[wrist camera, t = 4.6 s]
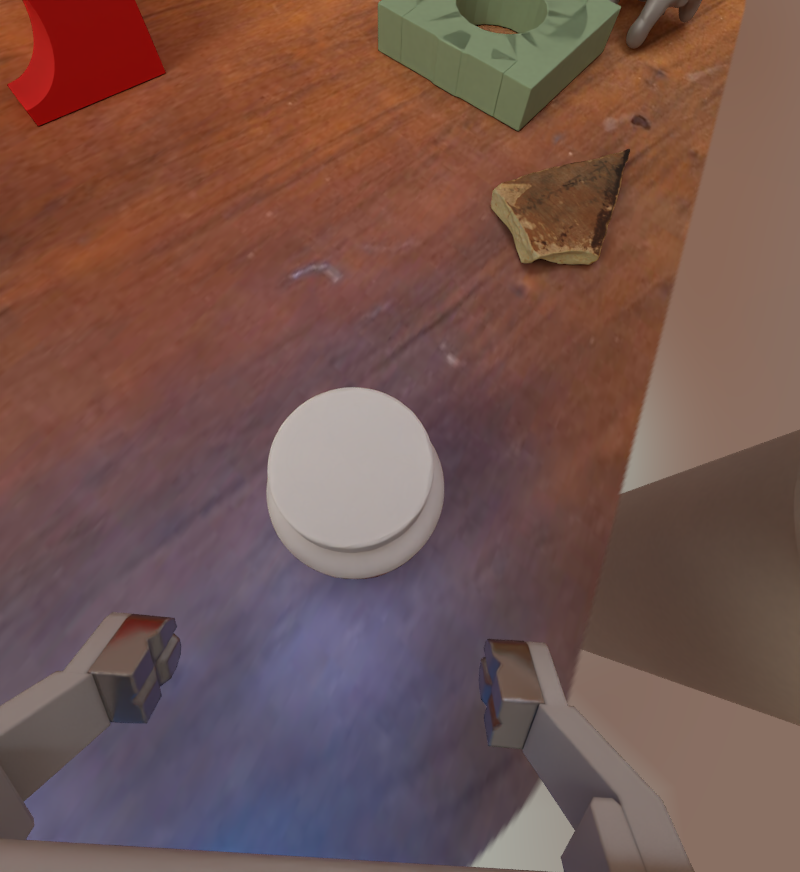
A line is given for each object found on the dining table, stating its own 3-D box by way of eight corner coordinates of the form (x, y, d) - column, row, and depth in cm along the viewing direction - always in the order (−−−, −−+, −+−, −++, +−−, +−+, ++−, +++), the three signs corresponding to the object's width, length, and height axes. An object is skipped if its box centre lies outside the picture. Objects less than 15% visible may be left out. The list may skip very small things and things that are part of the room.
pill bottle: (291, 567, 21) (203, 556, 11) (319, 451, 23) (267, 346, 13) (413, 588, 21) (446, 598, 11) (430, 470, 23) (471, 380, 13)
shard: (618, 167, 31) (632, 144, 29) (673, 246, 29) (691, 225, 27) (486, 200, 29) (492, 177, 28) (533, 286, 27) (543, 266, 26)
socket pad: (603, 51, 36) (623, 5, 33) (517, 133, 32) (530, 89, 29) (471, -18, 38) (478, -66, 35) (376, 51, 34) (376, 3, 31)
